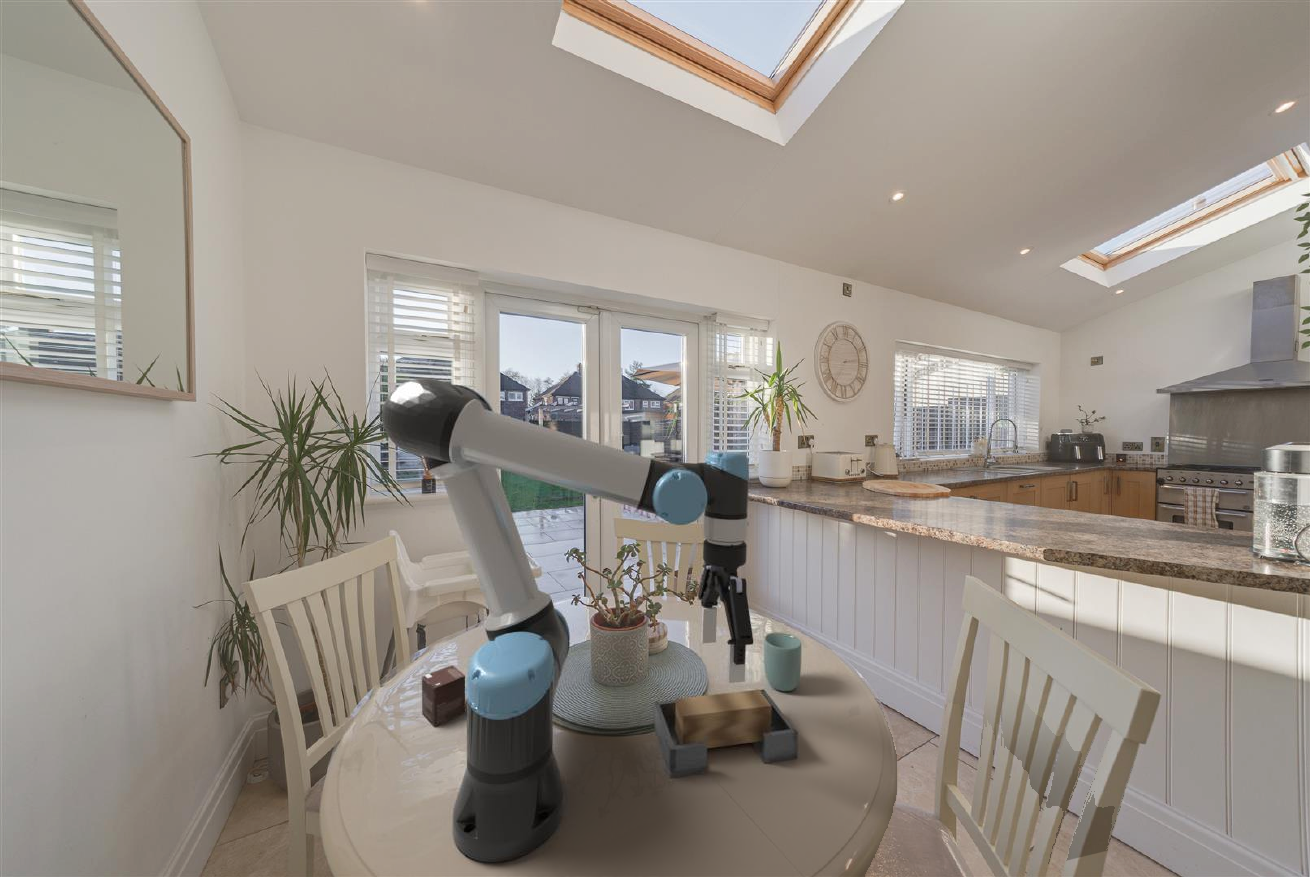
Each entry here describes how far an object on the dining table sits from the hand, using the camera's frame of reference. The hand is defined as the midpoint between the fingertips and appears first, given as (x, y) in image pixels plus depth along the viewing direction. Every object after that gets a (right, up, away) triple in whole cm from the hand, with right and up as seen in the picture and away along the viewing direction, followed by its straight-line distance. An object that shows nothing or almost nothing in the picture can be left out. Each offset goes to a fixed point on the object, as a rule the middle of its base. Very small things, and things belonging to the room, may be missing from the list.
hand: (721, 660), depth 79 cm
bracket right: (+8, -15, +2) cm, 17 cm away
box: (-52, -14, +7) cm, 55 cm away
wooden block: (0, -14, 0) cm, 14 cm away
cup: (+16, -15, +18) cm, 28 cm away
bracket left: (-8, -15, -1) cm, 16 cm away
